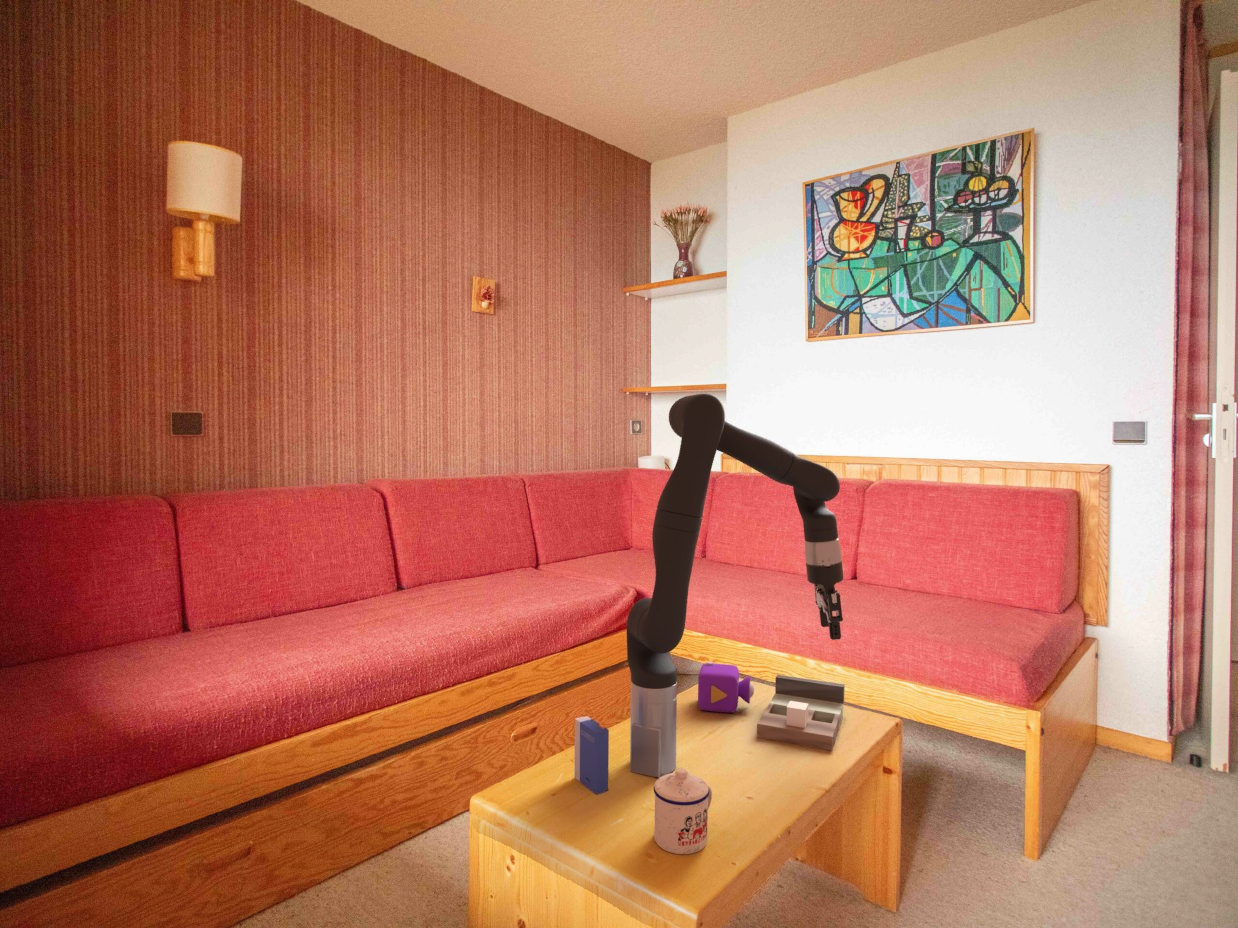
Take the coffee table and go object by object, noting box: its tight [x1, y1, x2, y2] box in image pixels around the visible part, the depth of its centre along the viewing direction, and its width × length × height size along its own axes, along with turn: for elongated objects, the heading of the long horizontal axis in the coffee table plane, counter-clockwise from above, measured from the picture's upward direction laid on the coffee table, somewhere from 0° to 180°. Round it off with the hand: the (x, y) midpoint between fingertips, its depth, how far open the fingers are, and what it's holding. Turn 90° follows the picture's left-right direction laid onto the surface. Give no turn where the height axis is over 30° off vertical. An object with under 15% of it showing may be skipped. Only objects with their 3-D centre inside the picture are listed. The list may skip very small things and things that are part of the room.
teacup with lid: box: [653, 767, 713, 855], centre depth 116 cm, size 12×9×12 cm
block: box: [786, 701, 808, 728], centre depth 155 cm, size 4×4×4 cm
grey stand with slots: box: [756, 674, 845, 752], centre depth 162 cm, size 22×16×7 cm
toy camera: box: [697, 660, 755, 714], centre depth 172 cm, size 11×14×10 cm
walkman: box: [574, 715, 610, 796], centre depth 134 cm, size 8×3×12 cm, turn 34°
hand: (830, 632), depth 154 cm, fingers open, 8 cm apart
